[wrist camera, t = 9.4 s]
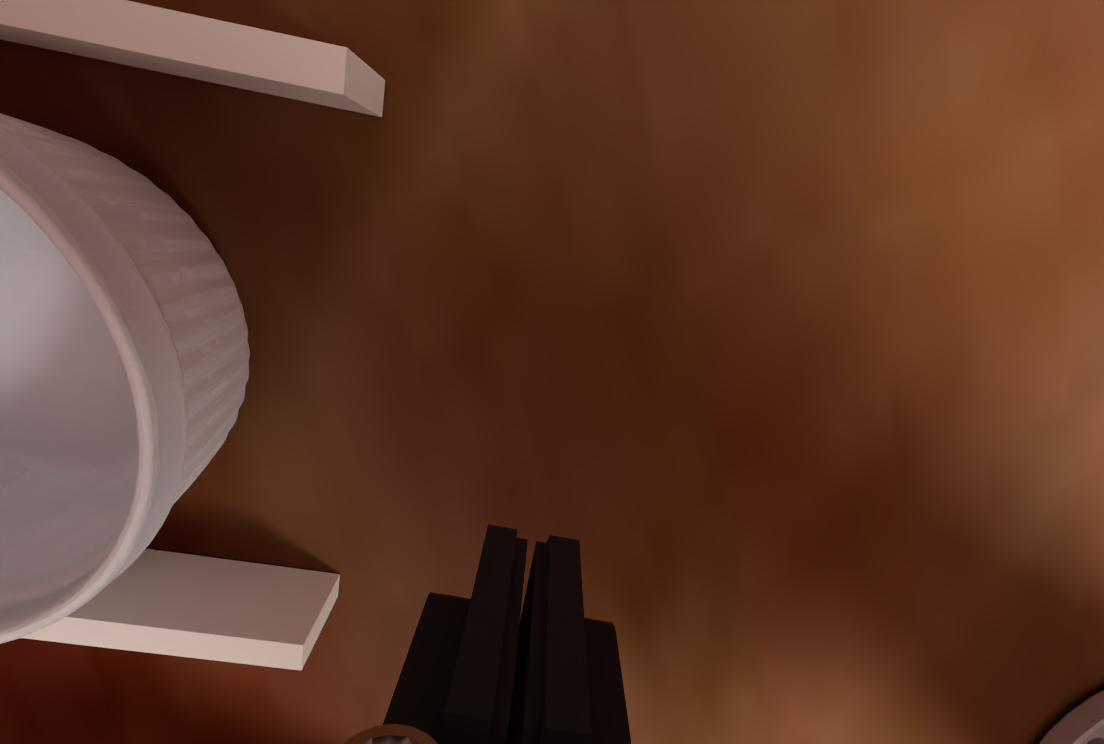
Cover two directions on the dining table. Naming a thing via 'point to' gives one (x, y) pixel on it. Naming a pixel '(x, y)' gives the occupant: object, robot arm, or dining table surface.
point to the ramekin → (100, 368)
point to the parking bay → (168, 577)
